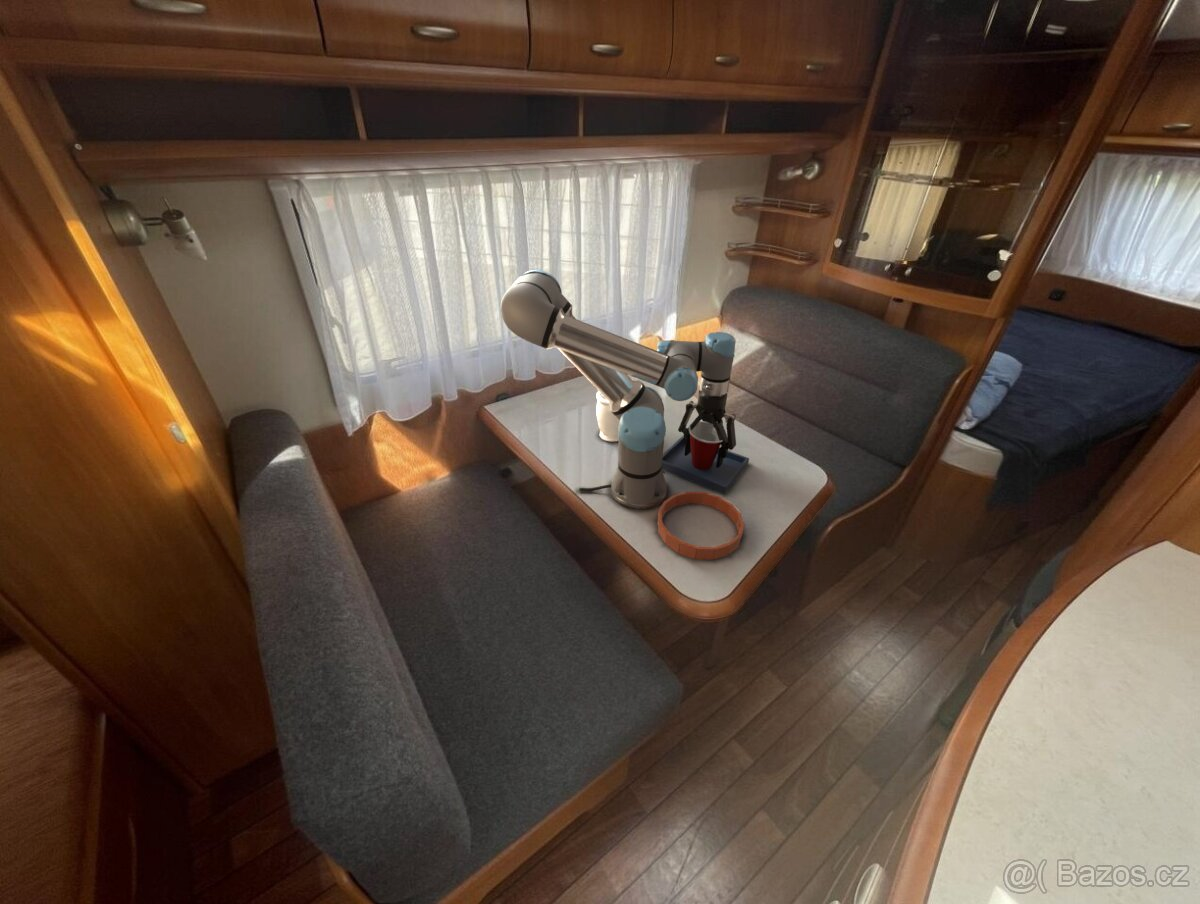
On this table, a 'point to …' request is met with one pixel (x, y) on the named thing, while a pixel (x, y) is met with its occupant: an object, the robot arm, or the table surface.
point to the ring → (693, 550)
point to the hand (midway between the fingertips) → (703, 459)
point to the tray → (709, 478)
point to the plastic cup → (704, 445)
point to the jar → (606, 420)
